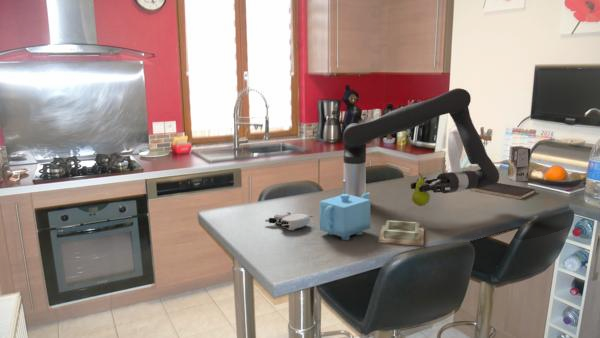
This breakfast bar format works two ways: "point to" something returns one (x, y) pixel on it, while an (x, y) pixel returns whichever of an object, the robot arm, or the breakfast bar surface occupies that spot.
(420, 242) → the tray
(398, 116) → the robot arm
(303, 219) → the robot toy
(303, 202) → the breakfast bar surface
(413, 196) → the fruit
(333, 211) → the teapot
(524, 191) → the book
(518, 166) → the coffee box
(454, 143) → the skyscraper
